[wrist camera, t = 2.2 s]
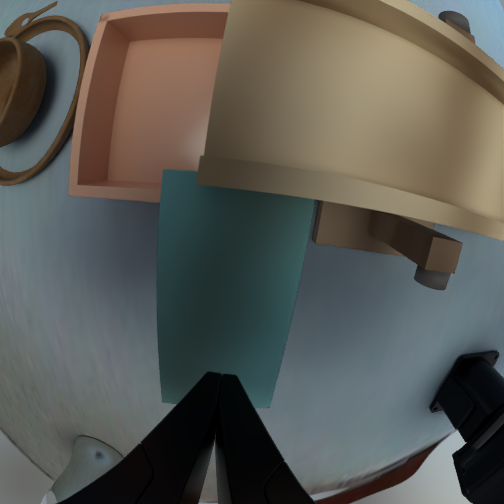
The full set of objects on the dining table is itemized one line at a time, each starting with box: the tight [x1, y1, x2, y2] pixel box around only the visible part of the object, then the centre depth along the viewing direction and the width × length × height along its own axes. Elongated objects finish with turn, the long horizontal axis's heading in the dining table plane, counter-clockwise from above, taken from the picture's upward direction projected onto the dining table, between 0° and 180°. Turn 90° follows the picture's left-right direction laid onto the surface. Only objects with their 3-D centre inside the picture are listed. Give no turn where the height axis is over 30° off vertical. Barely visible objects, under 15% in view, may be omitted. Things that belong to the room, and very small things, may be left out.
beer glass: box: [41, 436, 123, 504], centre depth 15 cm, size 7×7×15 cm
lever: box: [157, 0, 504, 408], centre depth 8 cm, size 18×14×3 cm
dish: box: [69, 3, 230, 203], centre depth 11 cm, size 9×9×4 cm
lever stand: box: [312, 11, 475, 290], centre depth 10 cm, size 7×12×7 cm, turn 172°
